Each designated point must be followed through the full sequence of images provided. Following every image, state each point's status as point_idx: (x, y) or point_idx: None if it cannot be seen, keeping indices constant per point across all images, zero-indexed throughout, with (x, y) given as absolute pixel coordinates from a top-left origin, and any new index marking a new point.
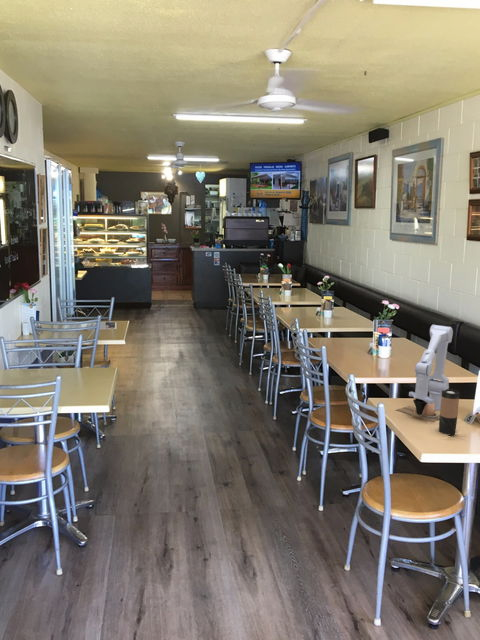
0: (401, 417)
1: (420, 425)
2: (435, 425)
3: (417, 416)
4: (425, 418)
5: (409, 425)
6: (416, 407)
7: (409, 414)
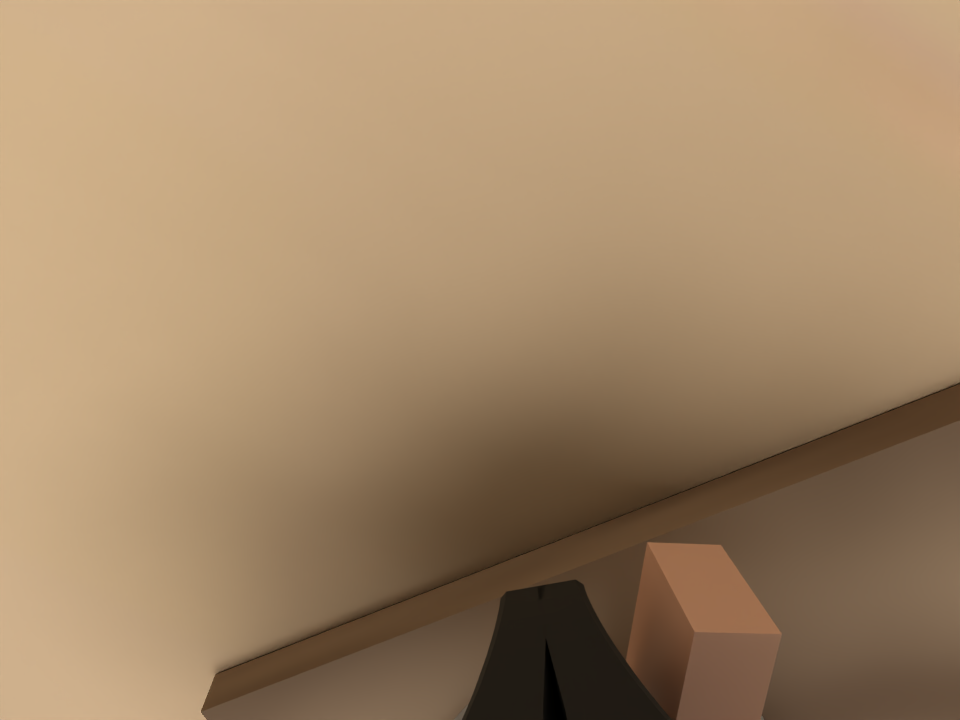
0: (871, 190)
1: (152, 363)
2: (139, 684)
3: None
4: None
5: (166, 43)
6: (618, 716)
7: (885, 471)
